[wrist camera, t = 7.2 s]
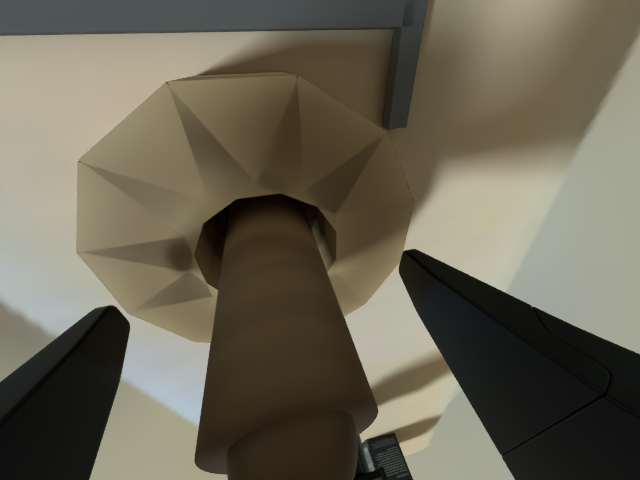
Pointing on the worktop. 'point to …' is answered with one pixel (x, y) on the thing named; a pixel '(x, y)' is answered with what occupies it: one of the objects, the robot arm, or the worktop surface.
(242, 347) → the brown cylinder
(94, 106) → the worktop surface
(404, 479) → the small box
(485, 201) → the worktop surface
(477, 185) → the worktop surface
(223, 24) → the gray l-shaped bar
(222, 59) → the worktop surface
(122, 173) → the bead
